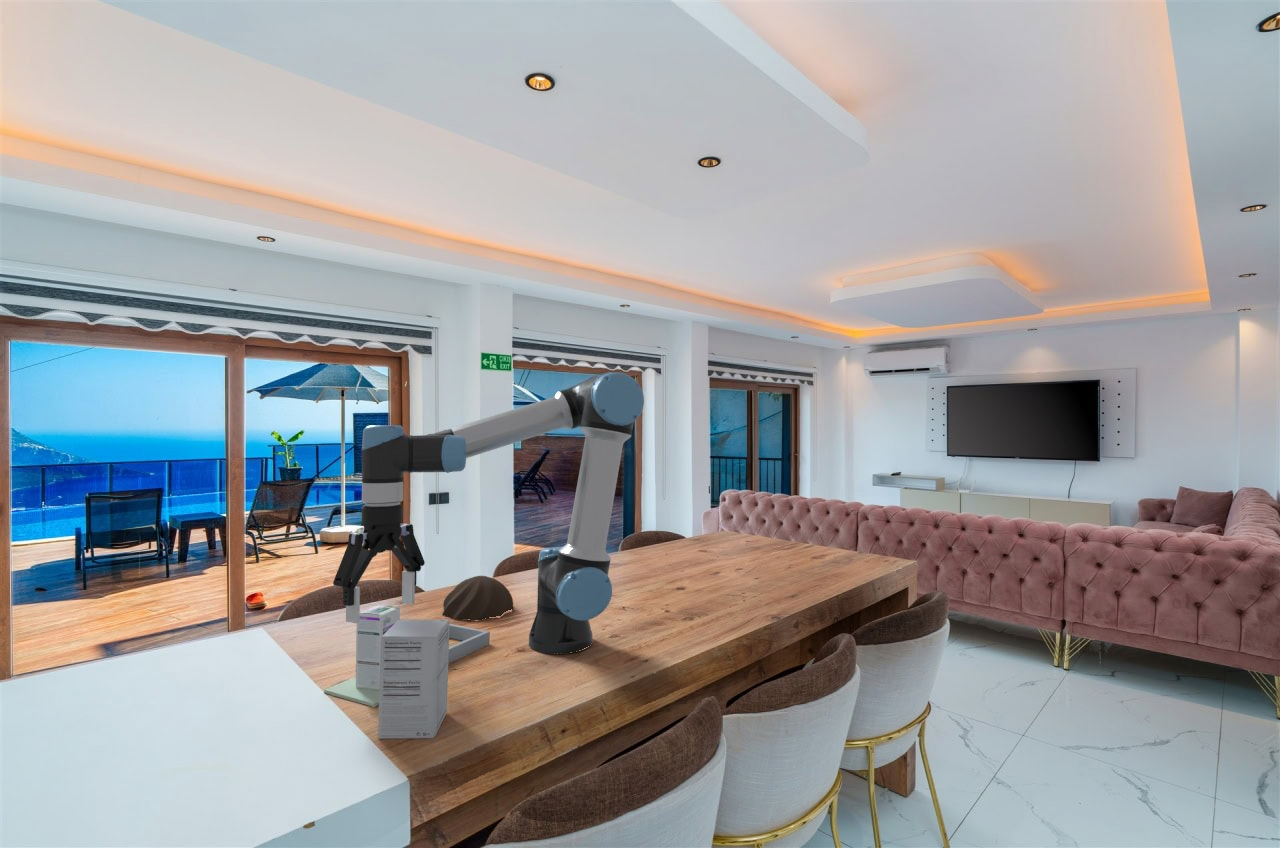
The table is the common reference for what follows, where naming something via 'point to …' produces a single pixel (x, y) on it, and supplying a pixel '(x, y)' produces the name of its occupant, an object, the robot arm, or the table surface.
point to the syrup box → (372, 643)
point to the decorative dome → (477, 599)
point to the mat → (354, 693)
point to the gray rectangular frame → (466, 641)
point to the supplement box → (413, 679)
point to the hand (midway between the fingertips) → (381, 612)
